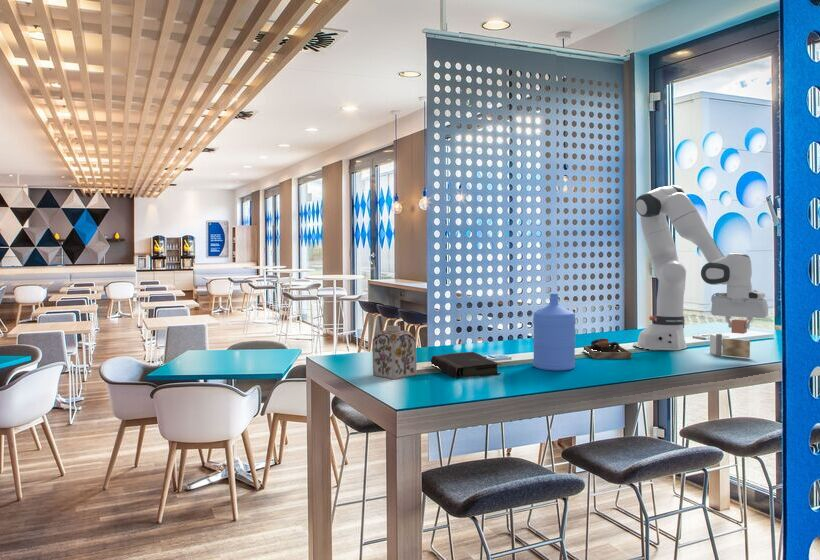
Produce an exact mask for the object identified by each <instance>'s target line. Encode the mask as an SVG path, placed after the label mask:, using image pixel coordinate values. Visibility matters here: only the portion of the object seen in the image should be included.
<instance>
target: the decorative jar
mask: <svg viewBox="0 0 820 560" xmlns="http://www.w3.org/2000/svg"><path fill="white" fill-rule="evenodd" d="M417 362H418V361H417V339H416V337H415V336H414V335H413V334H412V333H411V331H408V330H404V329H401V325H388V326H387V329H386V330H381V331H379V332H378V333H376V335H375V336H374V337H373V338H372V375H373V376H376V377H379V378H384V379H389V380H393V381H395V380H396V381H397V380H399V379H404V378H409V377H413V376H416V375H417V369H418V368H417Z"/></svg>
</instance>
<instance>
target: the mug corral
mask: <svg viewBox="0 0 820 560" xmlns="http://www.w3.org/2000/svg"><path fill="white" fill-rule="evenodd" d="M619 346H620V345H619ZM590 347H591V345H583V351H584V350H586V351H587V352H589V354H590V356H589V357H591V358H593V360H597V359H598V360H601V359H602V360H604V359H607V360H608V359H611V360H612V359H613V360H614V359H615V360H617V359H619V360H620V359H627V360H628V359H632V357H633V356H632V351H630V350H628V349H626V348H625V347H622V346H620V348H619V350H620V351H621V352H594V351H592V350H591V349H590ZM615 348H616V345H615V346H614V347H613V349H615Z"/></svg>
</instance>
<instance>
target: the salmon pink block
mask: <svg viewBox="0 0 820 560" xmlns="http://www.w3.org/2000/svg"><path fill="white" fill-rule="evenodd" d="M731 323H732V328H731V334H741V335H742V334H743V335H744V334H746V333H747V332H748V331H747V330H748V329H745V328H744V327H745V326H744V324H747V323H748V320H747V319H738V318H736V319H735V318H734V319H733V320H731Z"/></svg>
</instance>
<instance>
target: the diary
mask: <svg viewBox="0 0 820 560" xmlns="http://www.w3.org/2000/svg"><path fill="white" fill-rule="evenodd" d="M431 363H432V364H434V365H435V366H438V367H439V368H440V369H441V370H442V371H441V370H440V371H441V372H443V373H445V374H447V375H449V376H451V377H452V378H454V379H458V378H460V379H462V378H471V377H481V378H482V377H491V376H499V375H501V374H502V373H501V372H500V373H499V372H498V365H502V364H501V363H500V362H497V361H494V360H492V359H489V358H486V357H485V356H483V355H481V354H480V353H477V352H474V351H465V352H452V353H446V354H438V355H432V357H431V359H430V364H431ZM432 364H431V365H432Z"/></svg>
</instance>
